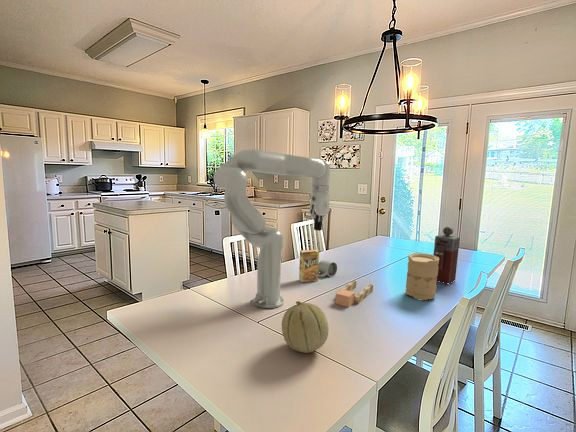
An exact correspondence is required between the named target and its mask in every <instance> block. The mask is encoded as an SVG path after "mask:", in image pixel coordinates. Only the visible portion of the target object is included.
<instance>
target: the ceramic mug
mask: <svg viewBox="0 0 576 432" xmlns="http://www.w3.org/2000/svg"><path fill="white" fill-rule="evenodd" d="M337 271H338V265H337V263H336V262H335V261H331V260H326V259H325V260H323V259H322V260H319V268H318V278H324V277H326V276H328V277H330V278H331V277H334V276H336V275H337ZM319 273H320V274H319Z"/></svg>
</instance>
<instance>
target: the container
mask: <svg viewBox="0 0 576 432" xmlns="http://www.w3.org/2000/svg"><path fill="white" fill-rule="evenodd" d="M438 264H439V258H438V257H436V256H434V254H431V253H426V252H425V253H424V252H423V253H422V252H413V253H410V254H408V262H407V273H406V282H405V283H406V284H405V295H406V294H407V295H409V297H412V298H414V299H415V300H416V299H421V300H420V301H423V300H425V301H428V299H429V300H433V299H435V297H436V293H437V283H438V282H437V278H436V277H437V276H438ZM407 295H406V296H407Z"/></svg>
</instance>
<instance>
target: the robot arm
mask: <svg viewBox="0 0 576 432" xmlns="http://www.w3.org/2000/svg"><path fill="white" fill-rule="evenodd" d="M247 172H252V173H259V174H260V173H261V174H271V175H277V176H298V177H299V176H300V177H302V178H311V195H310V200H309V214H310V217H311V219H313V230H314V231H322V230H323V221H324V218H325V217H326V215H328V214H330V193H329V191H330V190H329V188H330V172H331V162H329V161H326V160H321V159H320V158H319V159H318V158H313V157H307V156H300V155H294V154H293V155H292V154H289V153H280V152H275V151H270V150H269V151H268V150H263V149H258V148H257V149H256V148H252V149H251V148H250V149H249V148H248V149H243V150H240V151H238V152H237V153H235V154H234V155H233V156H231V157H230V158H229V159H228V160H227V161H225V162H224V163H223V164H222V165H220V166H219V167H218V168H217V169H216V170H215V171H214V174H213V183H214V185H215V186H217V187H218V188H219V189H221V190H224V194H223V196H224V197H223V198H224V205H225V208H226V209H227V211H228V212H229V213H230V214H231V224H232V226H233V227H234V229H235V230H236V231H237V232H238V233H240V235H241V236H242V237H243V239H245V240H246V241H247V242H248V243H249V244H251V246H254V247H256V248H258V249H259V250H260V251H259V254H258V255H257V256H258V257H257V263H256V264H257V265H256V266H257V267H256V271H257V273H256V276H257V277H256V282H257V283H256V294H255V297H253V298H252V299H250V303H249V304H250V305H252V306H253V305H255V306H256V307H258V308H261V309H275V308H276V309H277V308H279V307H281V306H283V305H284V304H285V303H284V301H285V300H284V298H283V297H282V296H281V275H282V274H281V261H282V252H283V248H284V236H283V234H282V232H281V231H279V230H278V229H276V228H274V227H271V226H268V225H267V224H266V223H267V222H266V219H265V217H264V214H262V212H261V211H259V209H258V208H257V206H255V205H254V204H253V203H252V202H251V201H250V199H249V197H248V196H247V187H248V176H247Z"/></svg>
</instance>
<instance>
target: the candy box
mask: <svg viewBox="0 0 576 432" xmlns="http://www.w3.org/2000/svg"><path fill="white" fill-rule="evenodd" d="M319 262H320V251H319V250H317V249H304V250H303V249H300V250H299V267H298V268H299V272H298V275H299V276H298V279H299V282H301V283H307V282H319V277H318V275H319V273H318V268H319Z"/></svg>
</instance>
